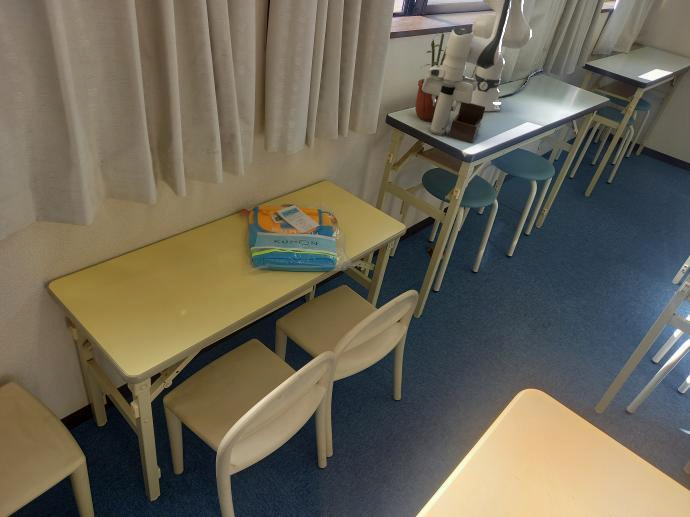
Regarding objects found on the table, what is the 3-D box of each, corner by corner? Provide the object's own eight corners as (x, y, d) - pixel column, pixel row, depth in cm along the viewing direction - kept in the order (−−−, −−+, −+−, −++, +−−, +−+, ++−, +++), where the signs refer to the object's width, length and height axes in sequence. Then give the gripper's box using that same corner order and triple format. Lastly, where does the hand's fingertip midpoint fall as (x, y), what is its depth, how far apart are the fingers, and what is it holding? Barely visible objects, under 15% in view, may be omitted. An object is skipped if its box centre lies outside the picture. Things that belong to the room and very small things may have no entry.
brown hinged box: (454, 128, 207) (462, 100, 200) (477, 134, 205) (485, 106, 197) (448, 136, 199) (455, 108, 192) (471, 143, 196) (480, 114, 189)
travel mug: (445, 136, 199) (458, 87, 187) (429, 133, 199) (441, 84, 187) (446, 130, 204) (458, 83, 192) (430, 127, 204) (442, 79, 192)
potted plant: (434, 126, 206) (455, 39, 185) (401, 116, 211) (418, 29, 190) (448, 116, 218) (470, 32, 197) (417, 106, 224) (435, 24, 203)
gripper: (480, 77, 187) (470, 112, 195) (429, 65, 192) (422, 99, 200) (476, 81, 182) (466, 117, 190) (425, 68, 187) (417, 104, 196)
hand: (443, 108), depth 195 cm, fingers closed on travel mug, 6 cm apart
